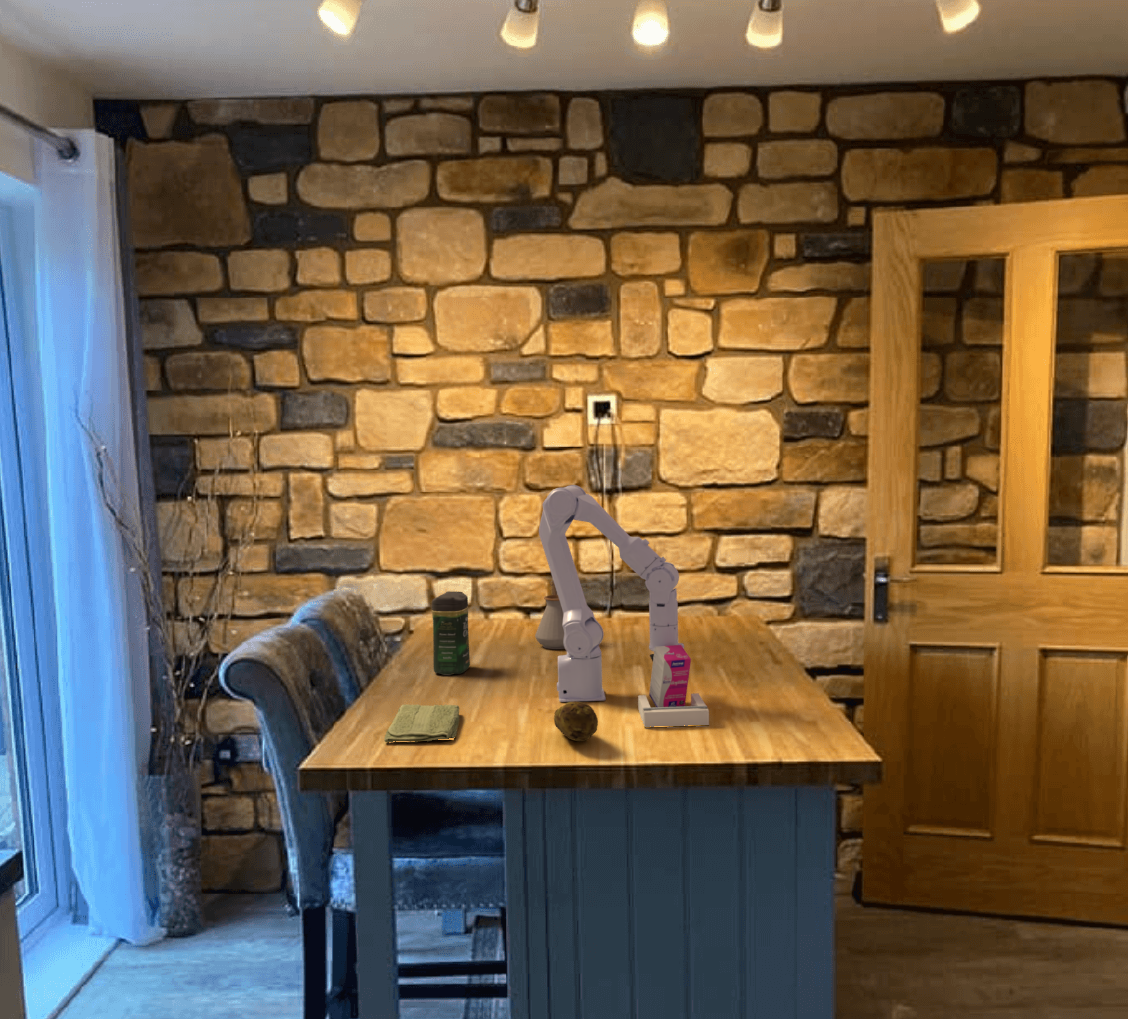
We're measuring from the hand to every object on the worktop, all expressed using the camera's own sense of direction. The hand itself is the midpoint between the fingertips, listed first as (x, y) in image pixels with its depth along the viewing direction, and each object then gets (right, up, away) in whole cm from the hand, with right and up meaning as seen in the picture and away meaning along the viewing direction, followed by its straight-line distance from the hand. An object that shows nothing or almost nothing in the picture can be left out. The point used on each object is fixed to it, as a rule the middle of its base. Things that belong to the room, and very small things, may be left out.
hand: (665, 689), depth 190 cm
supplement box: (0, -2, -3) cm, 4 cm away
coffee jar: (-47, -2, +29) cm, 55 cm away
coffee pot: (-22, +1, +57) cm, 61 cm away
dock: (0, -3, -10) cm, 11 cm away
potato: (-18, -5, -23) cm, 30 cm away
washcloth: (-47, -6, -13) cm, 49 cm away
